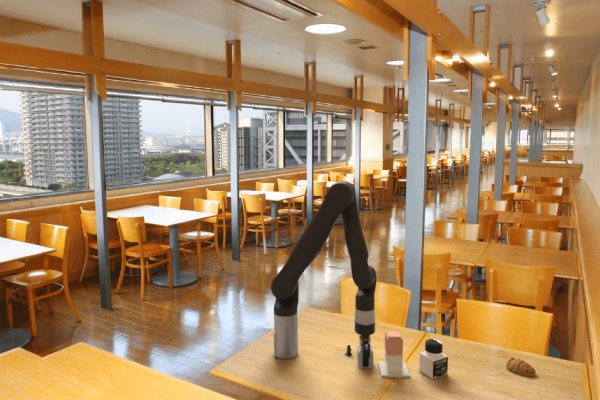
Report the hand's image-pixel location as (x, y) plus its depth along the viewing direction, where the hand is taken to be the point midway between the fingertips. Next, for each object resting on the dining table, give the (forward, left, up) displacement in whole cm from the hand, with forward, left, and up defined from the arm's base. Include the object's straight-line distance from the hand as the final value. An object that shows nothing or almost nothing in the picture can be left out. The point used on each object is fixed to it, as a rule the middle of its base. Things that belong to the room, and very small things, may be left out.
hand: (364, 362), depth 170 cm
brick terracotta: (+10, -4, +7) cm, 13 cm away
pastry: (+55, -4, -1) cm, 56 cm away
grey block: (0, 0, -1) cm, 1 cm away
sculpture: (-6, +8, -1) cm, 10 cm away
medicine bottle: (+24, -6, -1) cm, 25 cm away
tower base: (+10, -4, -1) cm, 11 cm away
